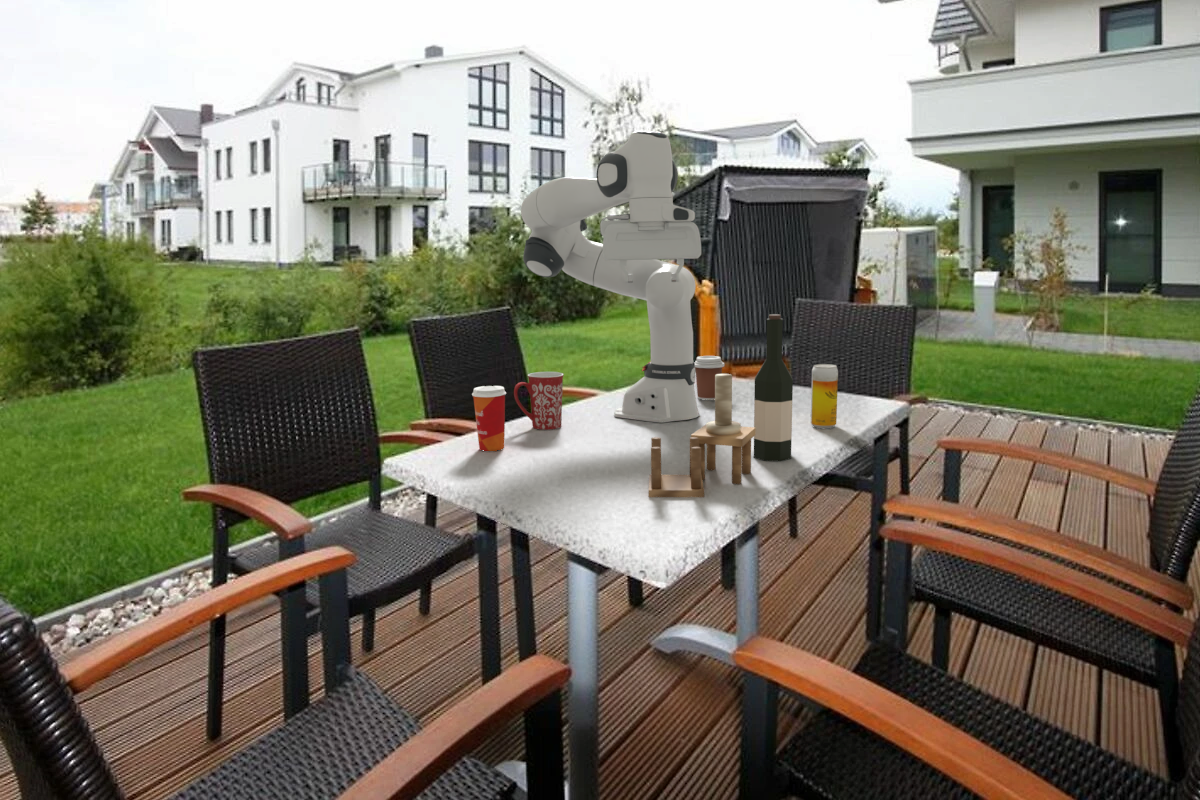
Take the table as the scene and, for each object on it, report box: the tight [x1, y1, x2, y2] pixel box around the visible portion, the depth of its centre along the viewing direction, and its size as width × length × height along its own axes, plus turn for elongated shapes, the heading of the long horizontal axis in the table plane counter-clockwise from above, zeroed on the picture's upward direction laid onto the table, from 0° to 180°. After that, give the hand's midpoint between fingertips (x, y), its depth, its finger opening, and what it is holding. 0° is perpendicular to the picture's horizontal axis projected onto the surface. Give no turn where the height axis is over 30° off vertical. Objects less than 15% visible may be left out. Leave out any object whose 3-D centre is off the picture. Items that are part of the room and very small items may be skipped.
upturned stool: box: [648, 436, 705, 498], centre depth 150 cm, size 10×10×9 cm
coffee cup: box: [693, 355, 725, 401], centre depth 235 cm, size 9×9×12 cm
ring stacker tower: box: [705, 373, 741, 435], centre depth 156 cm, size 7×7×11 cm
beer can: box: [810, 363, 839, 429], centre depth 196 cm, size 6×6×15 cm
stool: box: [690, 424, 756, 485], centre depth 158 cm, size 10×10×9 cm
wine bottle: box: [753, 313, 794, 462], centre depth 169 cm, size 8×8×30 cm
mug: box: [513, 371, 564, 431], centre depth 203 cm, size 13×9×14 cm
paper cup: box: [471, 385, 507, 452], centre depth 182 cm, size 8×8×14 cm
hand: (652, 282), depth 167 cm, fingers open, 8 cm apart
